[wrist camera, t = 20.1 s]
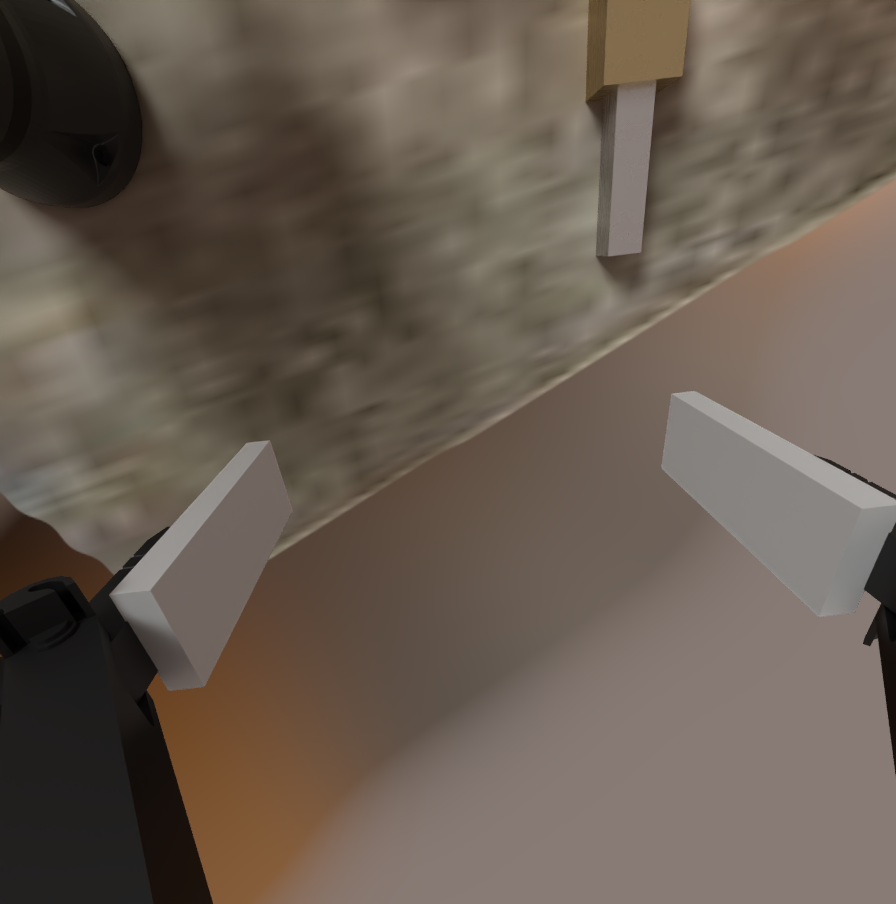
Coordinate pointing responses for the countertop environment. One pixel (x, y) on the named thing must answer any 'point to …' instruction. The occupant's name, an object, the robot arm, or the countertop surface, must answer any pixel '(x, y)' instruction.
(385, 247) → the countertop surface
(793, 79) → the countertop surface
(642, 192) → the metal block
